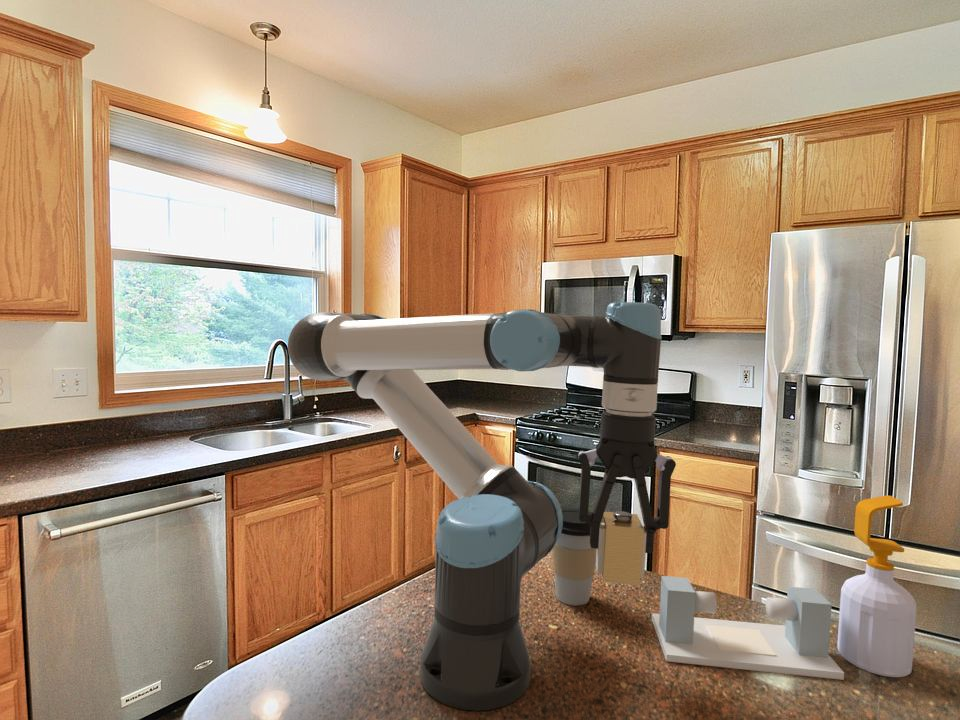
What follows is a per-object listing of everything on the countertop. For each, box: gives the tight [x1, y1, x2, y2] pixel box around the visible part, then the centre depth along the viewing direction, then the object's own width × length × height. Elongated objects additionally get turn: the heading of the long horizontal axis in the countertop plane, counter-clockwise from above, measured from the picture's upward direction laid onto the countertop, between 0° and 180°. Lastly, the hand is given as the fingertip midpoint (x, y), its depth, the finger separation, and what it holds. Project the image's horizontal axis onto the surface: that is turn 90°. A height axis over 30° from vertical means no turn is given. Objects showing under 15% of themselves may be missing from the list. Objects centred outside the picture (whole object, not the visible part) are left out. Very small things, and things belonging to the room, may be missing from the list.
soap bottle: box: [836, 495, 918, 678], centre depth 82 cm, size 9×9×25 cm
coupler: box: [601, 510, 644, 586], centre depth 80 cm, size 5×6×9 cm
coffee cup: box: [551, 507, 597, 607], centre depth 99 cm, size 9×9×15 cm
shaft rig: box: [651, 575, 845, 681], centre depth 85 cm, size 24×12×9 cm, turn 82°
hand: (619, 571), depth 80 cm, fingers closed on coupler, 5 cm apart
